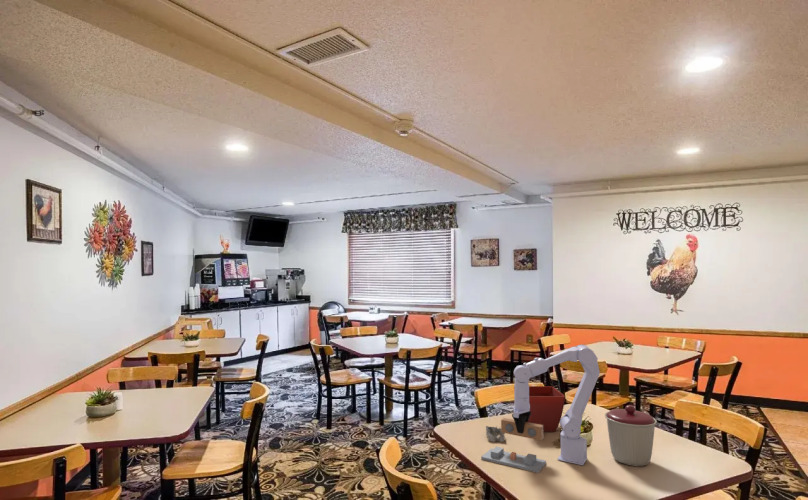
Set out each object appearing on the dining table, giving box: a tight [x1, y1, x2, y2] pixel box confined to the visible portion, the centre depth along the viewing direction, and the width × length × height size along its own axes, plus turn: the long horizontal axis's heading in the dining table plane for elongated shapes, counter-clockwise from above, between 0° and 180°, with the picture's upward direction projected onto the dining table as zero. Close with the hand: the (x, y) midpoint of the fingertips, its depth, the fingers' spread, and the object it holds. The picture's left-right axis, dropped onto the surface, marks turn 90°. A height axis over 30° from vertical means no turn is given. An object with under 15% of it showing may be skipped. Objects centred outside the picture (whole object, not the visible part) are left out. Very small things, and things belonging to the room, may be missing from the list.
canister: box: [604, 404, 658, 467], centre depth 180 cm, size 18×18×21 cm
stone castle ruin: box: [485, 425, 506, 443], centre depth 205 cm, size 11×8×4 cm
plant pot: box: [528, 385, 566, 433], centre depth 218 cm, size 19×19×17 cm
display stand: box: [480, 446, 547, 474], centre depth 179 cm, size 22×10×3 cm, turn 58°
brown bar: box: [500, 417, 544, 441], centre depth 185 cm, size 16×3×5 cm, turn 57°
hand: (521, 431), depth 185 cm, fingers closed on brown bar, 3 cm apart
